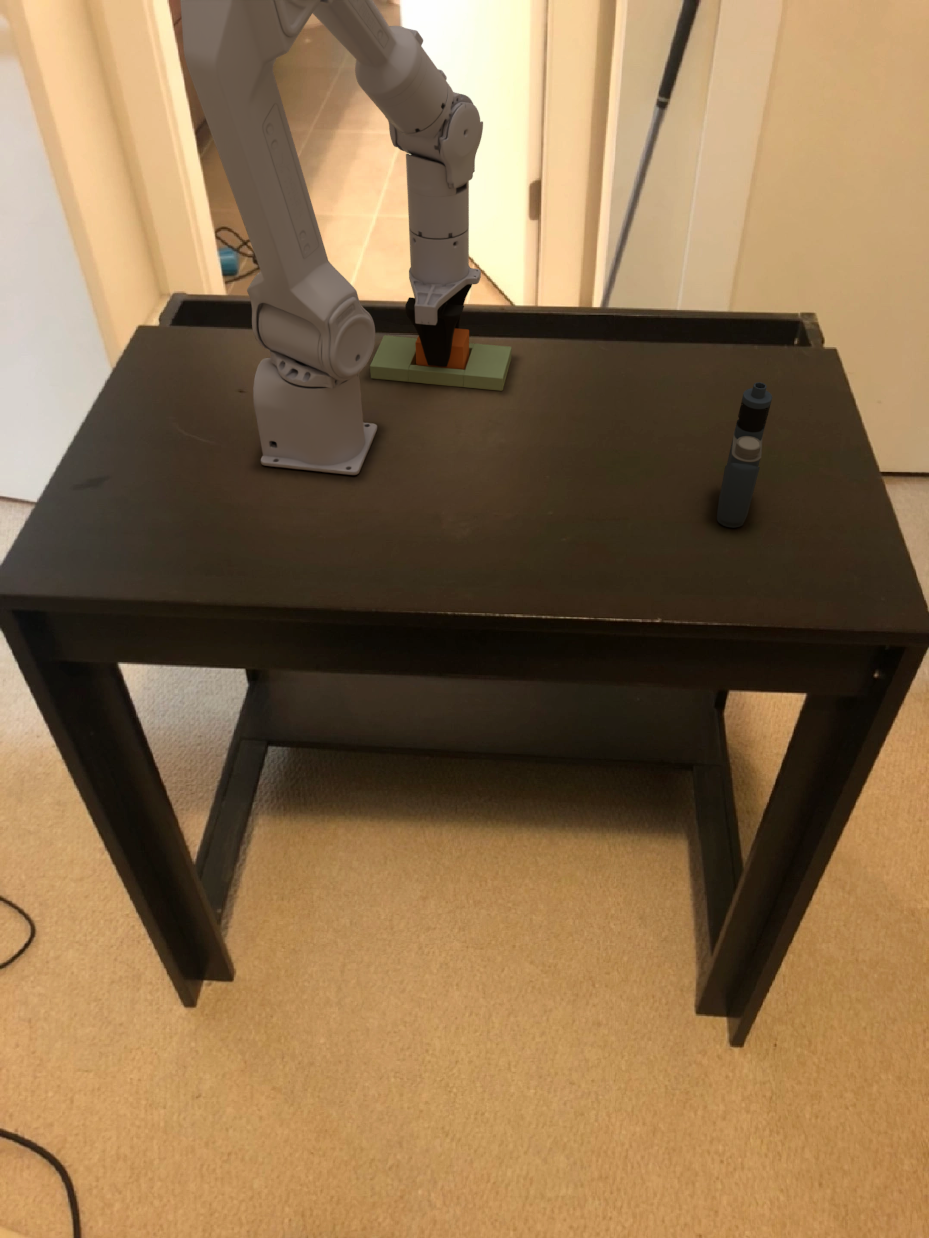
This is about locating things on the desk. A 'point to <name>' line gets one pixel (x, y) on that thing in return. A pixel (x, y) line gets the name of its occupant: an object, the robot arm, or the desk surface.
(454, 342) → the orange rectangular block
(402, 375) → the base pad
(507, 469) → the desk surface
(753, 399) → the vaping device
